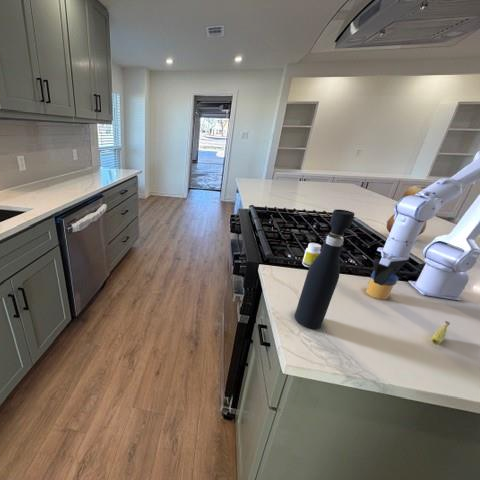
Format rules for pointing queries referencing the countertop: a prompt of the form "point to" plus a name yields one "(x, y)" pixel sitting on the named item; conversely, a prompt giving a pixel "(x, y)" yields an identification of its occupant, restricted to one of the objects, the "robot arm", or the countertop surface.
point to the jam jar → (378, 290)
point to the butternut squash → (409, 191)
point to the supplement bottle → (311, 254)
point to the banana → (440, 334)
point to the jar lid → (390, 281)
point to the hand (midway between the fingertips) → (383, 279)
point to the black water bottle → (323, 274)
